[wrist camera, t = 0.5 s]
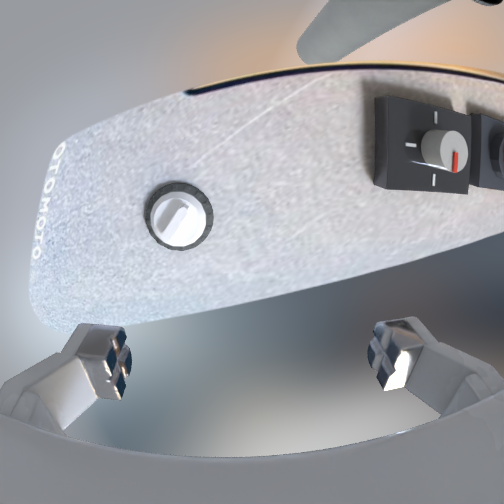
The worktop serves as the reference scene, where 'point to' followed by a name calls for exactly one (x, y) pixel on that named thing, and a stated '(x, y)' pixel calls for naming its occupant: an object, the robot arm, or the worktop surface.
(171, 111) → the worktop surface
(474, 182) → the block
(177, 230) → the stove knob
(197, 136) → the worktop surface
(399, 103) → the hob knob base
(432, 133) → the knob
